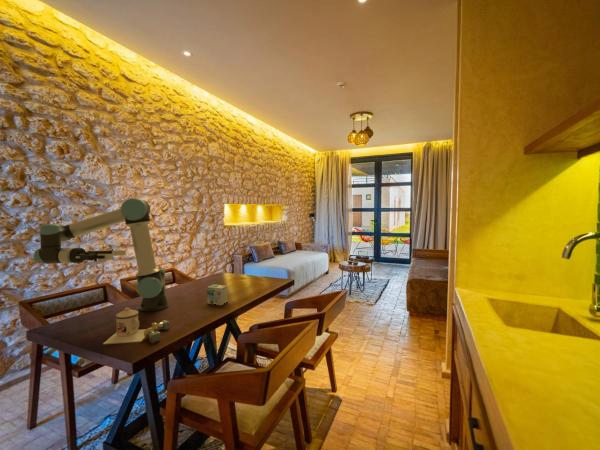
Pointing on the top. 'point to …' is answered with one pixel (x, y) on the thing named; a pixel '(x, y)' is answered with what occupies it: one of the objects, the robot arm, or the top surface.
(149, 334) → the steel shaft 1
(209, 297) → the light bulb box
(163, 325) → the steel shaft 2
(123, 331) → the teacup with lid
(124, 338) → the pad
